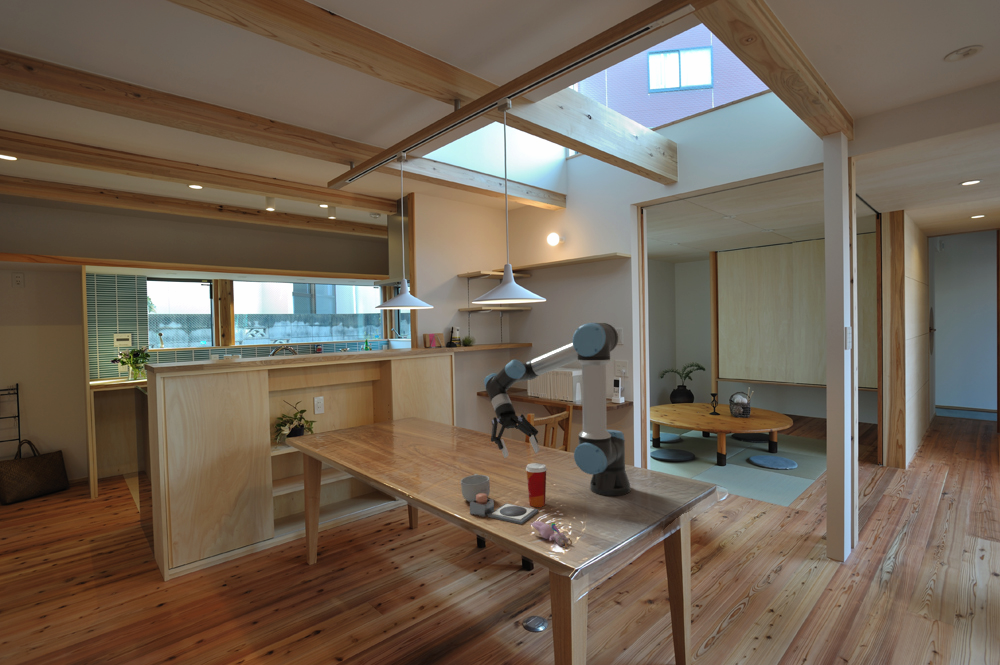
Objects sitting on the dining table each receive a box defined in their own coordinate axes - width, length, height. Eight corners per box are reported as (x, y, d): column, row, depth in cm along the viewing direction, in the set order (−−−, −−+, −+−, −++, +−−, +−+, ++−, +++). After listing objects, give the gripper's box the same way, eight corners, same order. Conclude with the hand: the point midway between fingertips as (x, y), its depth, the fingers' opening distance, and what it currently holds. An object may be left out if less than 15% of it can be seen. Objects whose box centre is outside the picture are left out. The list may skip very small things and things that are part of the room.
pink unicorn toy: (575, 548, 138) (537, 525, 149) (577, 529, 138) (539, 507, 148) (561, 555, 134) (524, 531, 145) (563, 535, 133) (525, 513, 144)
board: (538, 511, 163) (538, 508, 163) (521, 524, 153) (521, 520, 153) (506, 505, 170) (505, 502, 170) (487, 517, 159) (487, 513, 159)
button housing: (494, 511, 165) (493, 499, 165) (484, 517, 159) (484, 505, 159) (479, 508, 168) (479, 496, 168) (470, 513, 163) (469, 502, 163)
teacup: (486, 506, 170) (486, 483, 170) (457, 504, 172) (457, 482, 172) (494, 492, 183) (493, 472, 183) (467, 491, 185) (466, 471, 185)
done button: (489, 502, 164) (489, 494, 164) (483, 506, 161) (483, 497, 161) (480, 501, 166) (480, 492, 166) (474, 504, 163) (473, 496, 163)
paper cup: (534, 499, 175) (533, 461, 175) (552, 503, 170) (551, 464, 170) (522, 505, 169) (521, 466, 169) (539, 510, 164) (538, 470, 164)
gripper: (526, 410, 199) (546, 454, 186) (472, 415, 187) (489, 463, 175) (533, 399, 194) (553, 444, 182) (478, 404, 183) (496, 452, 170)
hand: (522, 453), depth 178 cm, fingers open, 13 cm apart
